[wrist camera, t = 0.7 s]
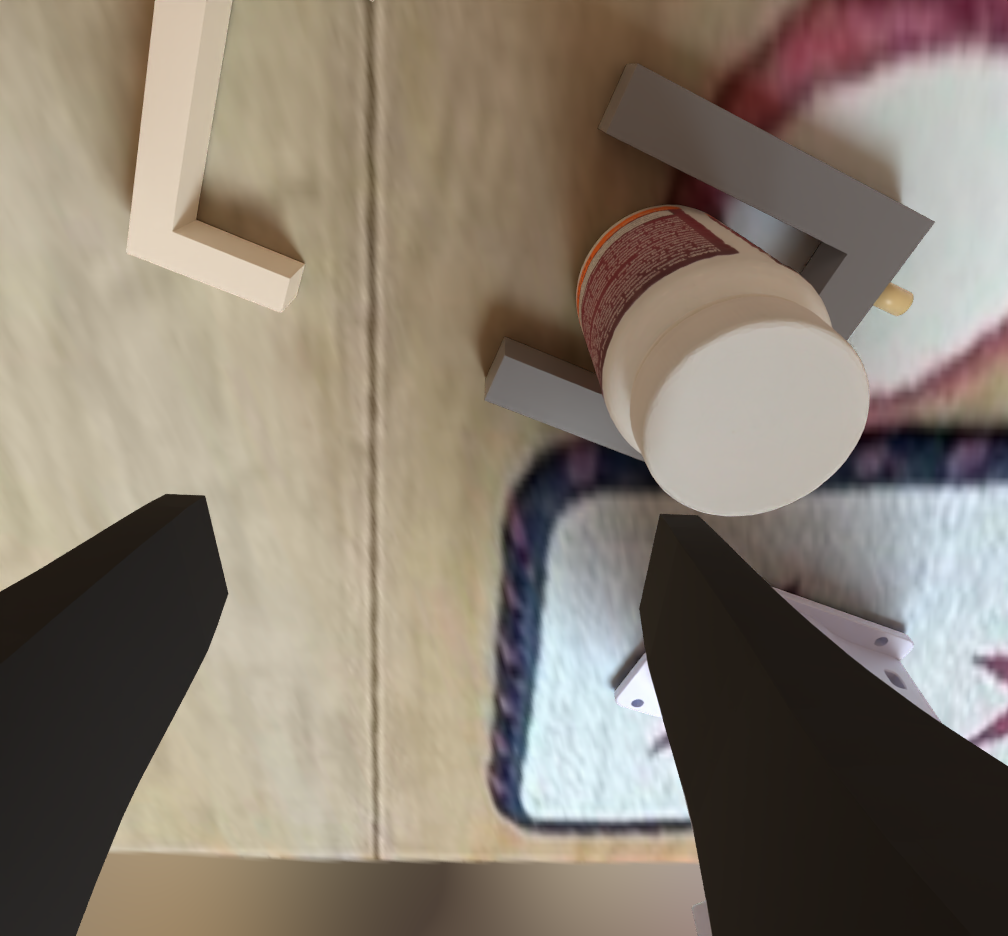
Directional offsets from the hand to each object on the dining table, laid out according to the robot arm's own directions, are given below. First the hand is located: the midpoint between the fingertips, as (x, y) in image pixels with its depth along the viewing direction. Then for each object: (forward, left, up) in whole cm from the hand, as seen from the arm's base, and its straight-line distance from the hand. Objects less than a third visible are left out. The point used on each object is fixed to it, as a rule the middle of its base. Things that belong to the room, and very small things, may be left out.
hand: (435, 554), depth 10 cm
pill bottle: (-5, -3, -11) cm, 12 cm away
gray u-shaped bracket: (-6, -3, -10) cm, 12 cm away
